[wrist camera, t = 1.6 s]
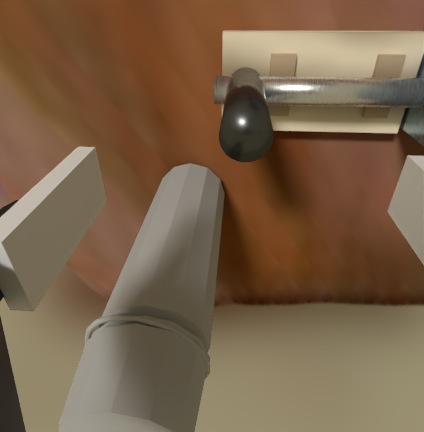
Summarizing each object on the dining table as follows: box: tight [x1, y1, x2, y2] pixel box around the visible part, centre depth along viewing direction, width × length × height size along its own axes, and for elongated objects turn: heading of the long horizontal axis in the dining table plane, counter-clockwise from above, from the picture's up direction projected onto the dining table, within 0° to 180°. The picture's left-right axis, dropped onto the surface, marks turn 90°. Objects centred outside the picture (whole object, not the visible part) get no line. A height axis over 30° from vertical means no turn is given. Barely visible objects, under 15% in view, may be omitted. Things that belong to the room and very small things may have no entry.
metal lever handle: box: [214, 54, 424, 162], centre depth 23 cm, size 18×7×13 cm, turn 90°
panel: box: [222, 31, 424, 133], centre depth 28 cm, size 8×16×2 cm, turn 90°
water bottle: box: [59, 163, 225, 432], centre depth 26 cm, size 9×8×25 cm
